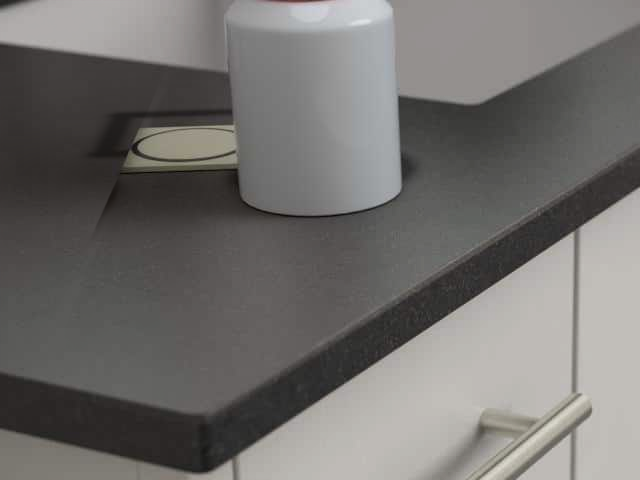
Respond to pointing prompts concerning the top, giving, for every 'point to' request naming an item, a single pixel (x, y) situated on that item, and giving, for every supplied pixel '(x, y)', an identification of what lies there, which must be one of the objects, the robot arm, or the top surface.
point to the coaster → (182, 149)
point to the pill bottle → (314, 104)
